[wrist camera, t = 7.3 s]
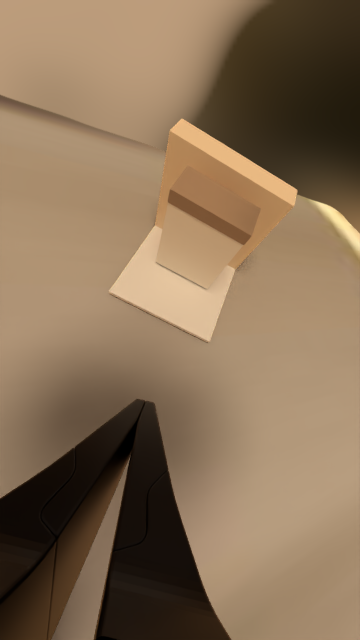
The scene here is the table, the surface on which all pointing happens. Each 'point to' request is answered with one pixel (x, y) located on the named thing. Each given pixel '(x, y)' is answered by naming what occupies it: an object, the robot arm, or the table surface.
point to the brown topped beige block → (203, 227)
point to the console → (143, 271)
